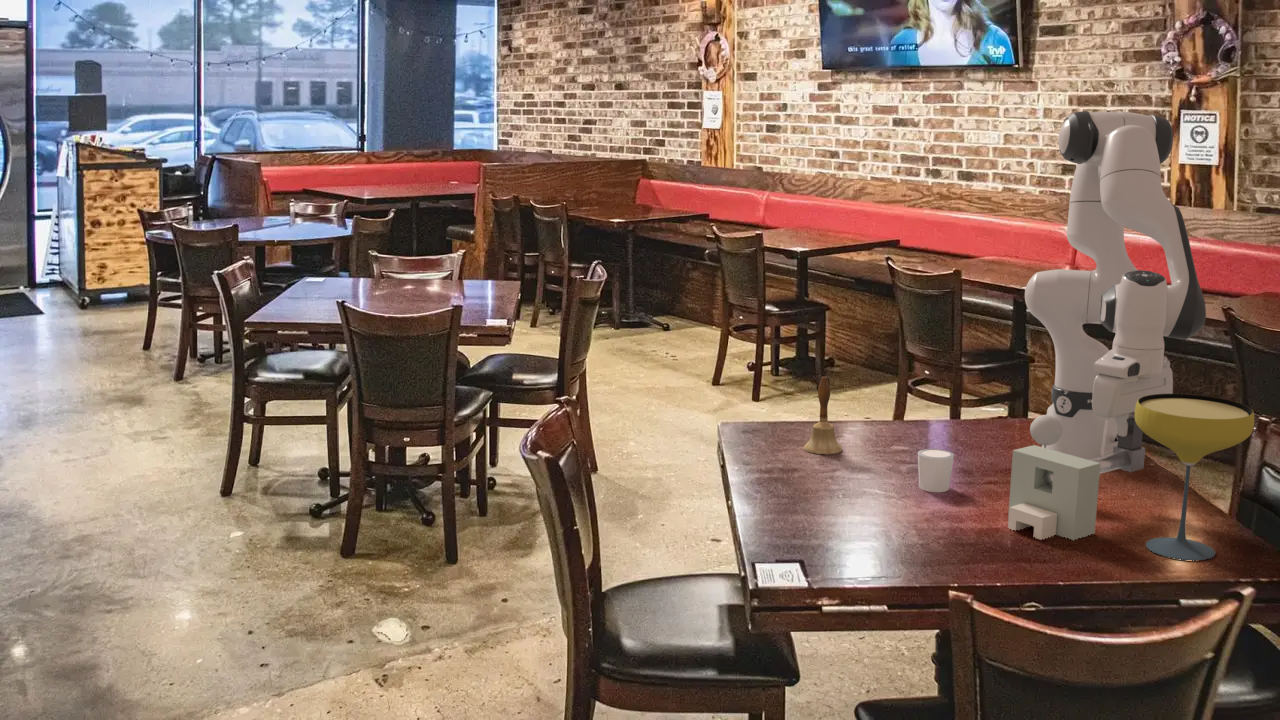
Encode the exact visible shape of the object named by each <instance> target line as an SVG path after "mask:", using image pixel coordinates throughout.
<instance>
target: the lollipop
mask: <svg viewBox="0 0 1280 720" xmlns="http://www.w3.org/2000/svg"><path fill="white" fill-rule="evenodd" d="M1029 431H1030V436H1031V437H1032V439H1033V441H1035V442H1036V443H1037V444H1039V445H1041V446H1042V445H1044V448H1046V445H1052V444H1054V443H1056V442H1057V441H1058V440H1059V439H1060V438H1061V436H1062V433H1063V428H1062V425H1061V423H1060V422H1059V420H1058V419H1057V418H1055V417H1053V416H1051V415H1047V414H1043V415H1039V416H1037V417H1035V419H1033V421H1032V422H1031V424H1030V426H1029Z"/></svg>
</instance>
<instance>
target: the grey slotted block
mask: <svg viewBox="0 0 1280 720" xmlns="http://www.w3.org/2000/svg"><path fill="white" fill-rule="evenodd" d="M1011 456H1012V457H1011V458H1012V459H1011V474H1010V485H1009V487H1010V488H1009V498H1008V501H1009V502H1008V508H1009V507H1012V506H1015V505H1019V504H1022V503H1026V504H1029V505H1032V506H1035V507H1038V508H1041V509H1044V510H1048V511H1051V512H1054V513H1057V524H1056V536H1058V535H1059V537H1062V538H1064V537H1065V539H1067V538H1069V539H1068V540H1070V539H1071V541H1076V540H1079V539H1078V538H1080V539H1081V538H1082V537H1083V538H1086V537H1088V535H1089V536H1092V535H1095V533H1096V522H1097V521H1096V520H1097V511H1098V509H1097V507H1098V496H1099V486H1100V477H1101V474H1100V464H1101V463H1098V462H1094V461H1091V460H1087V459H1083V458H1080V457H1076V456H1072V455H1069V454H1065V453H1061V452H1058V451H1054V450H1050V449H1047V448H1043V447H1042V446H1038V445H1035V444H1033V445H1028V446H1025V447H1021V448H1020V447H1019V448H1017V449H1013V450H1012V455H1011ZM1047 470H1049V471H1052V472H1054V473H1053V486H1052V487H1050V486H1048V485H1047V484H1046V483H1045V481H1044V473H1045V472H1046V471H1047ZM1007 515H1008V516H1007V519H1008V520H1009V511H1008V514H1007ZM1030 527H1031V525H1030ZM1031 528H1034V526H1032V527H1031ZM1091 534H1092V535H1091ZM1083 538H1082V539H1083ZM1075 539H1076V540H1075Z"/></svg>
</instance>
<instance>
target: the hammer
mask: <svg viewBox="0 0 1280 720" xmlns="http://www.w3.org/2000/svg"><path fill="white" fill-rule="evenodd" d="M1127 424H1128V426H1129V427H1131V428H1130V435H1128V436H1125V437H1122V436H1118V445H1117V446H1113V453H1112V454H1108V455H1104V456H1100V457H1096V458H1093V459H1089V460H1091V461H1094V462H1098V463H1101V464H1100V475H1102V474H1105V473H1108V472H1111V471H1115V470H1122V471H1125V472H1129V473H1133V472H1137V471H1140V470H1143V469H1144V465H1145V457H1146V456H1145V455H1146V447H1143V446H1142V445H1143V435H1144V432H1143V431H1142V430H1141V429H1140V428H1139V427H1138V426H1137V424H1136V421H1135V413H1129V418H1128V419H1127ZM1053 473H1054V472H1052V471H1049V470H1047V471H1046V472H1045V473H1044V481H1045V483H1046V484H1047V485H1048V486H1050V487H1052V486H1053Z"/></svg>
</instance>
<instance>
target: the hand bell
mask: <svg viewBox="0 0 1280 720" xmlns="http://www.w3.org/2000/svg"><path fill="white" fill-rule="evenodd" d="M817 396H818V397H817V398H818V401H819V421H818V422H817V423H814V424H813V426H812V430H811V431H812V432H811V436H810V438H809V440H808V441H807V443H805V445H804V446H803V451H805V452H806V451H807V453H809V452H810V453H809V454H813V453H815V454H814V455H821V454H825V455H826V456H827V455H836V454H839V453H841V452H843V446H841V444H839V442H838V440H837V438H836V433H835V426H834V424H832V423H830V422H829V419H828V416H829V415H828V405H829V402H830V398H831V386H830V381H829V379H828V376H821V378H820V381H819V384H818V388H817ZM825 455H824V456H825Z"/></svg>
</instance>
